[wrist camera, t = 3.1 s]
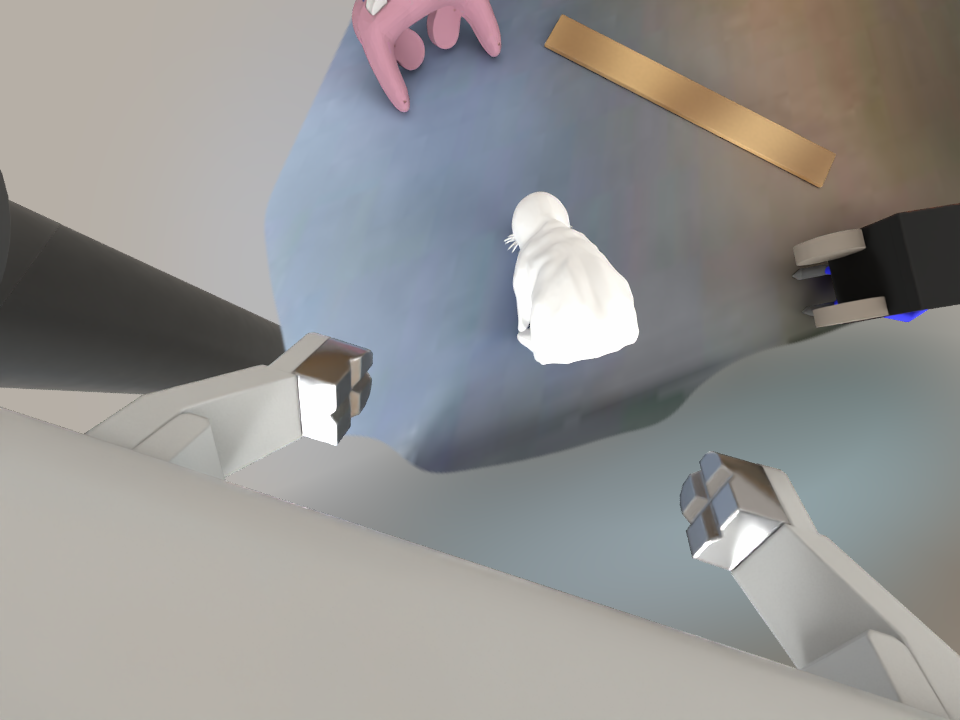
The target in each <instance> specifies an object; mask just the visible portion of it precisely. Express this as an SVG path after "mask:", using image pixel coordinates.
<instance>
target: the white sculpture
mask: <svg viewBox="0 0 960 720" xmlns="http://www.w3.org/2000/svg"><path fill="white" fill-rule="evenodd" d="M570 227H573V226H570V225H569V217H568V214H567V211H566V209H565V207H564V206H563V204H562V203H561V202H560V201H559V200H558V199H557V198H556V197H554V196H553V195H551V194H549V193H546V192H535V193H532V194H530V195H528V196H526V197H525V198H523V199H522V200H521V201H520V203H519V204H518V205H517V207H516V209H515V211H514V214H513V219H512V230H513V234H511V235H509V236H513V237H510V238H508V239H506V240H509V239H511V240H510V241H508V242H511V241H515V240H516V241H515V242H514V243H513V244H512V245H511V246H510V247H509V248H508V249H510V248H511V247H512V246H513V245H515V247H514V249H513V251H514V250H515V248H516V247H517V245H519V248H520V249H521V250H520V252H519V255H518V258H517V262H516V266H515V272H514V276H513V288H514V292H515V295H516V299H517V311H518V319H519V320H518V322H519V323H518V330H519V331H520V332H519V333H518V335H517V338H518V340H519V342H520V343H521V344H523V345H524V346H526V347H527V348H529V349H530V350H531V351H533V352H534V358H535V360H536V361H538V362H540V363H541V364H542V365H544V364H548V363H566V364H568V363H571V362H574V361H578V360H583V359H592V358H597V357H600V356H602V355H605V354H608V353H611V352H615V351H618V350H620V349H621V348H622V347H624V346H626V345H629V344H632V343H634V342H635V341H636V339H637V337H638V334H639V329H638V325H637V317H636V311H635V308H634V301H633V295H632V293H631V290H630V287H629V285H628V282H627V281H626V280H625V278H624V277H622V276H621V275H620V274H619V273H618V272H617V271H616V270H615V269H614V267H613V266H612V265H611V264H610V263H609V261H608V260H607V259H606V257H605V256H604V255H603V254H602V253H601V252H600V251H598V248H597V247H596V246H595V245H594V244H593V243H591V242H590V241H589V240H588V239H587V238H586V236H585V235H584V234H582V233H580V232H578V231H575V230H574V229H571V228H570ZM509 236H508V237H509ZM506 240H504V241H506ZM508 242H506V243H508ZM506 243H505V244H506ZM516 243H517V244H516ZM513 251H512V253H513ZM529 323H530V329H526V328H527V327H528V325H529Z"/></svg>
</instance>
